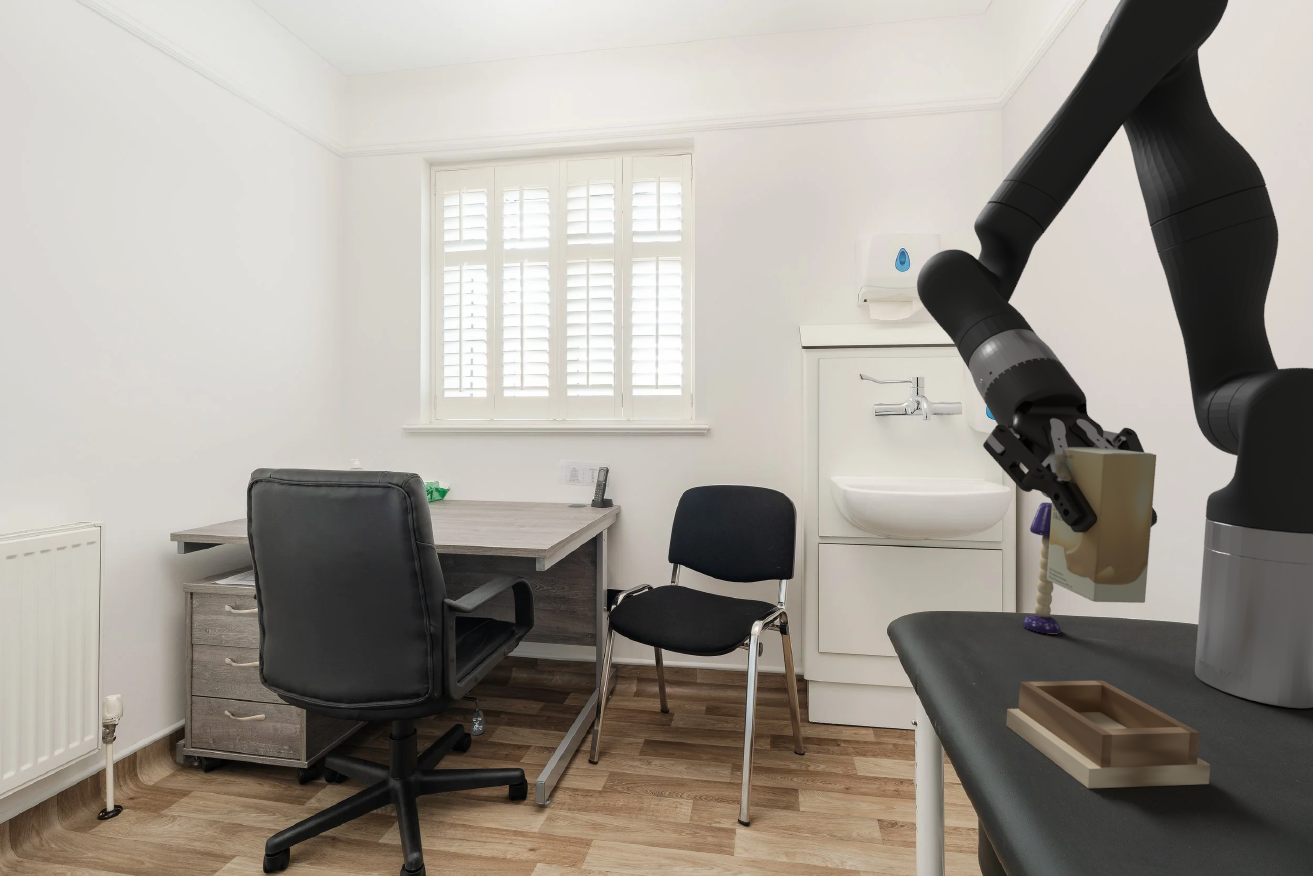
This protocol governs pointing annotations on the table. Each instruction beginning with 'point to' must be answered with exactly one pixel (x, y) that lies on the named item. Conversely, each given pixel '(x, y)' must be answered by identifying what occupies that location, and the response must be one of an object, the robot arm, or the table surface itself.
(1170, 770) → the wooden tray
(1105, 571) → the skincare box
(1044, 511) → the toy lamp
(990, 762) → the table surface
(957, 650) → the table surface
